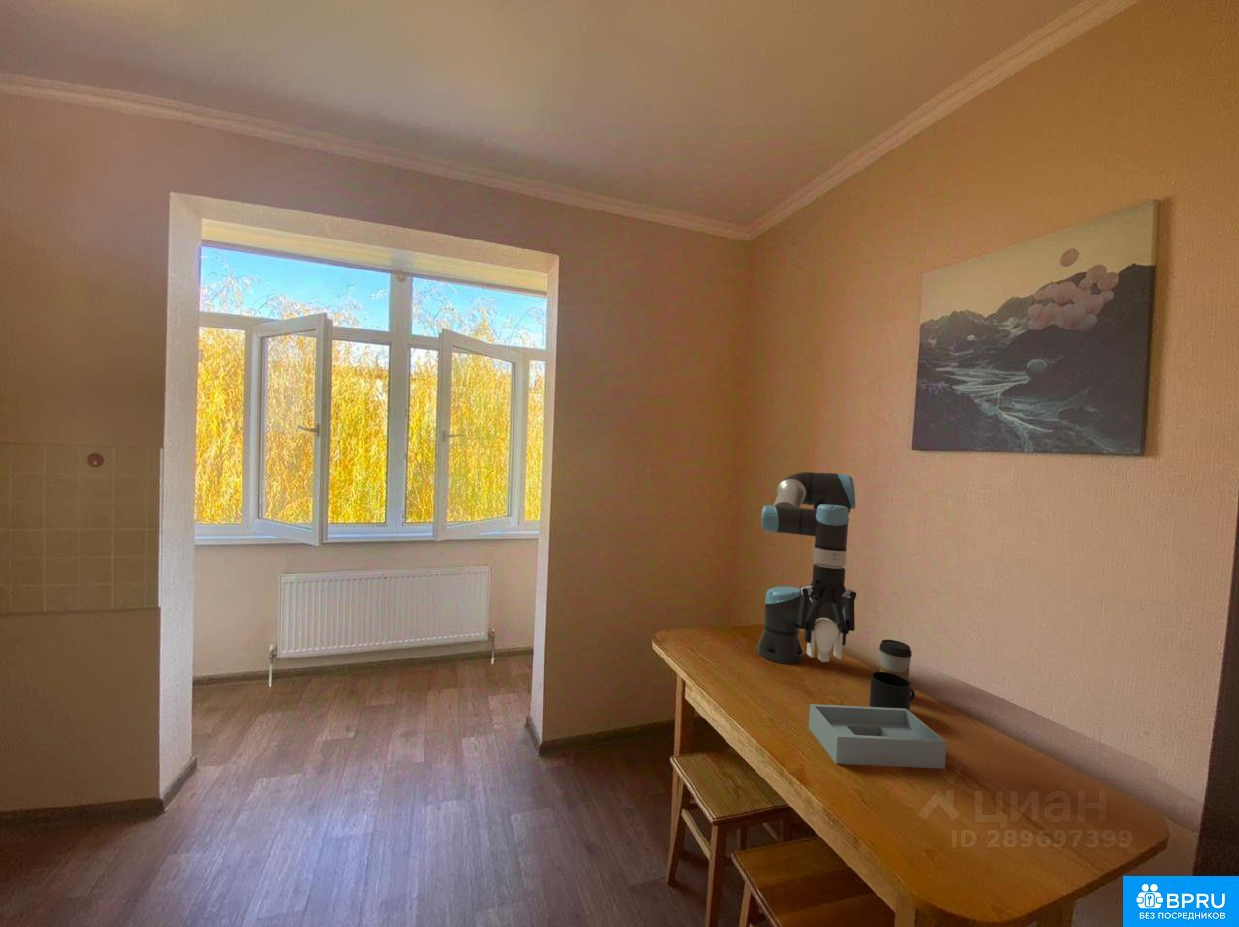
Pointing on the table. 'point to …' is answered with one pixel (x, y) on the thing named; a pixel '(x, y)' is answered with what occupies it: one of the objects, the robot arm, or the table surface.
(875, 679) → the mug
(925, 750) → the socket box
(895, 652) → the coffee cup
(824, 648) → the lightbulb
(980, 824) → the table surface
